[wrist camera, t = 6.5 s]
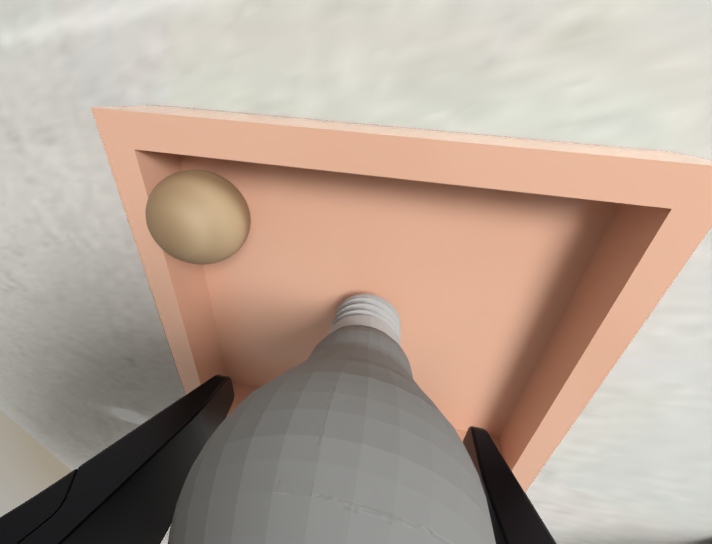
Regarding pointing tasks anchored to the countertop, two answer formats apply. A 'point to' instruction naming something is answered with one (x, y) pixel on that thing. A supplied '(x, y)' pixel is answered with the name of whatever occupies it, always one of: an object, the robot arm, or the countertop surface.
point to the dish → (419, 255)
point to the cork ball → (198, 217)
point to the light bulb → (337, 453)
